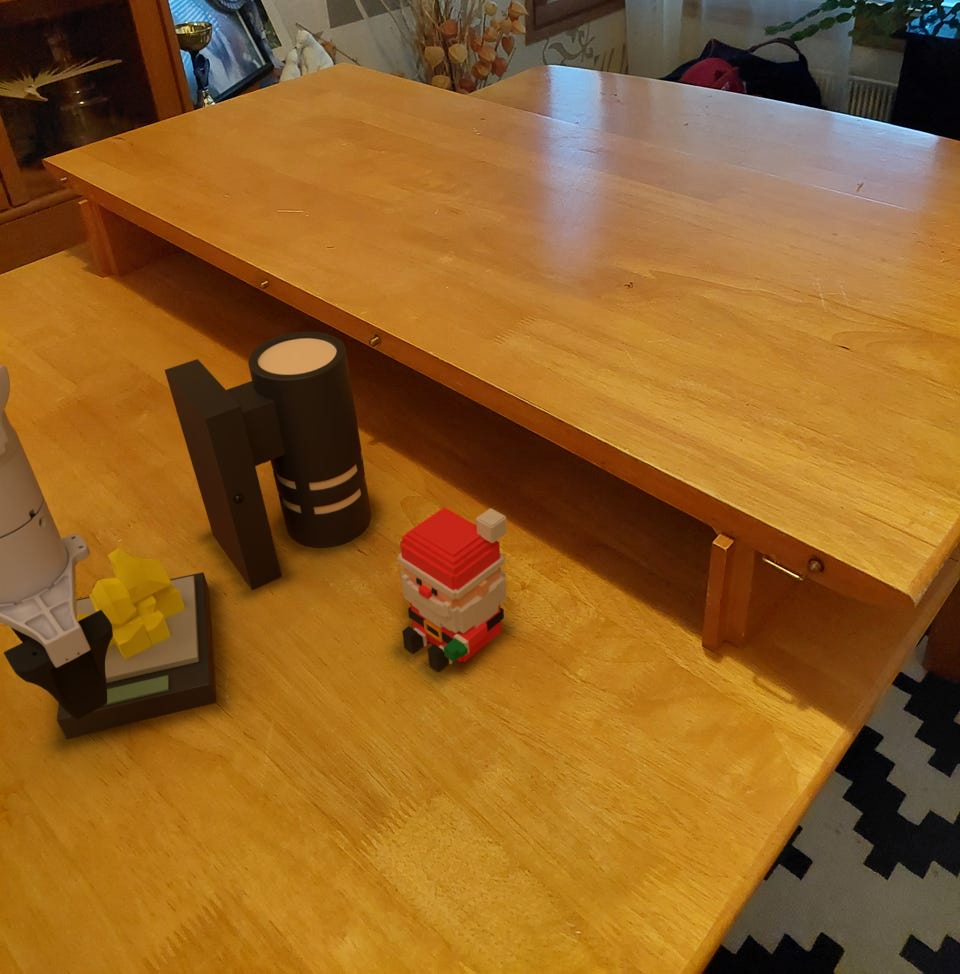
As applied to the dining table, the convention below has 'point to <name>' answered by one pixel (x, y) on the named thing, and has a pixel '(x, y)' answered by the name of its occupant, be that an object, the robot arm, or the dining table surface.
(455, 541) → the figurine
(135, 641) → the yellow angular block
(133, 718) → the scale
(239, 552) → the light fixture
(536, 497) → the dining table surface
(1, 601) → the robot arm
